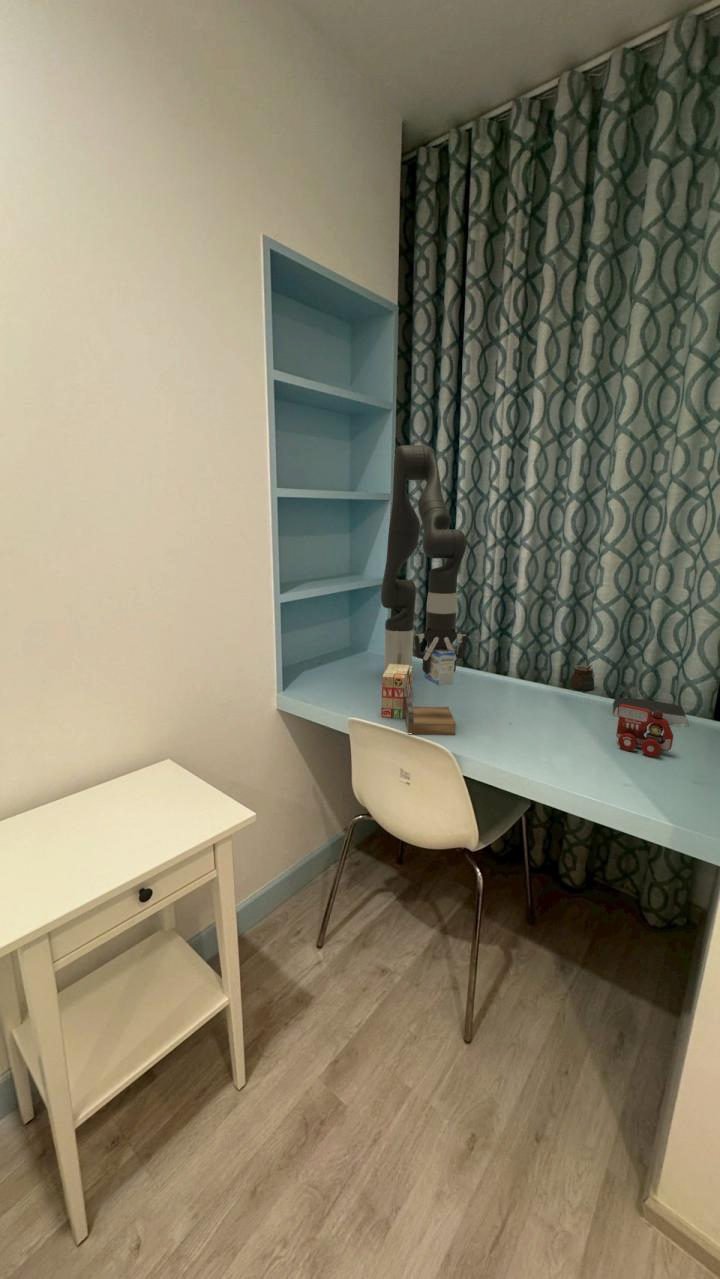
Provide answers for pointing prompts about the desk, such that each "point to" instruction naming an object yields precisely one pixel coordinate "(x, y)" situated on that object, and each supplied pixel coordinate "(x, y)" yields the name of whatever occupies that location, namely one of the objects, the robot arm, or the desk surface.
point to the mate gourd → (582, 678)
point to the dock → (428, 720)
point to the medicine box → (441, 667)
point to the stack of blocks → (396, 690)
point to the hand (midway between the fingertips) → (438, 673)
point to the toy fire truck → (643, 730)
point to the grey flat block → (670, 711)
